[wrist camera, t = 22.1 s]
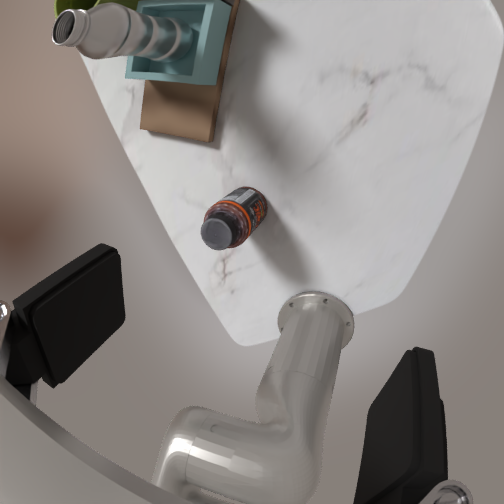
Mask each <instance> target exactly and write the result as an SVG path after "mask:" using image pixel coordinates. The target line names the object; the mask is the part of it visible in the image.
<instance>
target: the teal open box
mask: <svg viewBox="0 0 504 504" xmlns="http://www.w3.org/2000/svg"><path fill="white" fill-rule="evenodd" d="M136 12H139V13H142V14H145V15H149V16H155V17H171V18H178V19H181V20H182V21H184V22H185V23H187V24H188V25H189V26H190V28H191V29H192V32H193V42H192V45H191V47H190V49H189V51H188V52H187V53H186V54H185V55H184V56H183V57H182V58H180V59H178V60H176V61H172V62H166V63H161V62H156V61H153V60H151V59H148V58H145V57H140V56H128V60H127V66H126V74H125V78H128V79H145V80H159V81H170V82H180V83H189V84H197V85H215V86H216V82H217V76H218V71H219V66H220V60H221V55H222V50H223V45H224V40H225V35H226V30H227V26H228V21H229V16H230V12H231V6H229V5H228V4H226V3H224V2H223V1H221V0H143V1H138V5H137V10H136Z"/></svg>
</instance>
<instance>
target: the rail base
mask: <svg viewBox="0 0 504 504" xmlns="http://www.w3.org/2000/svg"><path fill="white" fill-rule="evenodd" d="M142 1H143V0H142ZM221 1H223V2H224V3H226V4H228V5H229V6H231V12H230V16H229V21H228V26H227V30H226V35H225V40H224V45H223V50H222V55H221V60H220V66H219V71H218V76H217V82H216V86H215V85H197V84H189V83H180V82H170V81H159V80H145V88H144V95H143V104H142V112H141V122H140V129H143V130H149V131H154V132H160V133H165V134H170V135H175V136H180V137H185V138H190V139H195V140H199V141H204V142H211V141H213V137H214V131H215V124H216V118H217V112H218V107H219V101H220V95H221V90H222V84H223V79H224V73H225V68H226V63H227V58H228V52H229V47H230V43H231V38H232V33H233V28H234V23H235V19H236V14H237V9H238V5H239V1H240V0H221Z"/></svg>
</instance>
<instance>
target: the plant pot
mask: <svg viewBox="0 0 504 504" xmlns="http://www.w3.org/2000/svg"><path fill="white" fill-rule="evenodd" d="M138 1H142V0H55V2H54V12H55V18H56V19H57V17H58V16H59V15H60V14H61V13H62V12H63V11H65V10H68V9H74V10H79V9H81V10H86V11H87V10H89V9H91V8H93V7H95V6H97V5H99V4H103V3H112V2H113V3H117V4H120V5H123V6H125V7H127V8H130V9H132V10H134V11H136V10H137V5H138Z"/></svg>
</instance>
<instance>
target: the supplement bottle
mask: <svg viewBox="0 0 504 504" xmlns="http://www.w3.org/2000/svg"><path fill="white" fill-rule="evenodd" d="M266 213H267V204H266V201H265V198H264V197H263V195H262V194H261V193H260V192H259V191H257V190H256V189H254V188H251V187H241V188H238V189H236V190H234V191H233V192H231V193H230V194H228V195H227V196H226V197H224V198H223V199H221V200H220V201H218V202H217V203H216V204H214V205H213V206H212V207H210V208H209V210H208V211H207V212H206V214H205V217H204V223H203V225H202V227H201V236H202V239H203V241H204V242H205V244H206V245H208V246H209V247H210V248H212V249H215V250H224V249H226V248H234V247H237V246H239V245H241V244H242V243H243V242H244V241H245V240H246V239H247V238H248V237H249V236H250V235H251V233H252V232H253V231H254V230H255V229H256V228H257V227H258V225H259V224H260V223H261V222H262V221H263V219H264V218H265V216H266Z"/></svg>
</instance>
